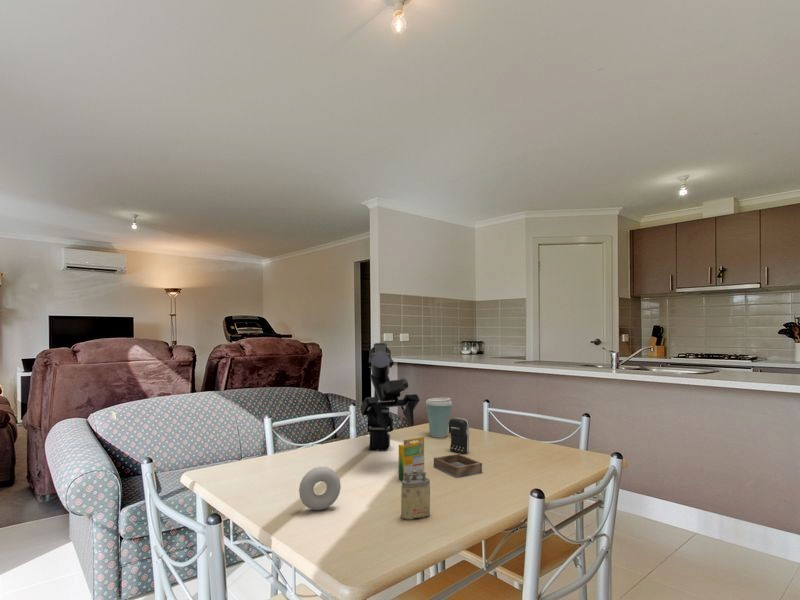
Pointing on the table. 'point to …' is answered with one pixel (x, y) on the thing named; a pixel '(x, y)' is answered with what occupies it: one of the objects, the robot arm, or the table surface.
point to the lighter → (415, 495)
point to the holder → (457, 465)
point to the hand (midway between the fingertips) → (399, 427)
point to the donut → (328, 496)
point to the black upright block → (459, 435)
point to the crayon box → (411, 457)
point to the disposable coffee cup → (438, 416)
